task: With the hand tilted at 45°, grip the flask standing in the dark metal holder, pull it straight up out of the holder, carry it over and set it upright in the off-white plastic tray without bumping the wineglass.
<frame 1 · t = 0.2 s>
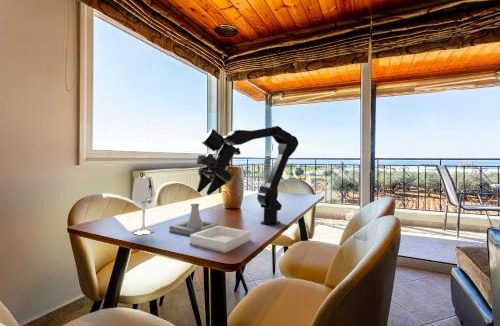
hand: (202, 193, 97), 14 cm above the table, tool tilted 35°, fingers open, 9 cm apart
tray: (220, 242, 85), on the table
holder: (194, 230, 99), on the table
wineglass: (143, 232, 96), on the table
flask: (194, 230, 99), on the table
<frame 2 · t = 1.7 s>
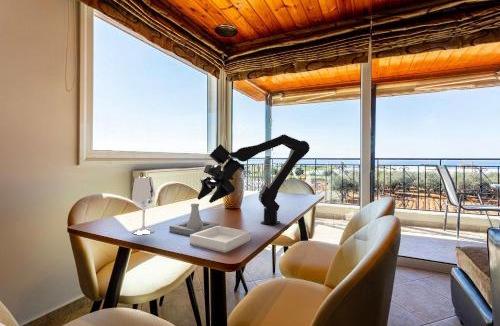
hand: (203, 200, 101), 11 cm above the table, tool tilted 45°, fingers open, 9 cm apart
nothing on the table moved.
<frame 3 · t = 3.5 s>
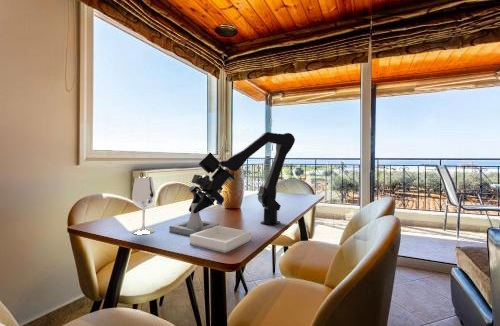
hand: (191, 211, 98), 7 cm above the table, tool tilted 45°, fingers closed on flask, 3 cm apart
flask: (194, 230, 99), on the table, touching gripper
everything else where it was.
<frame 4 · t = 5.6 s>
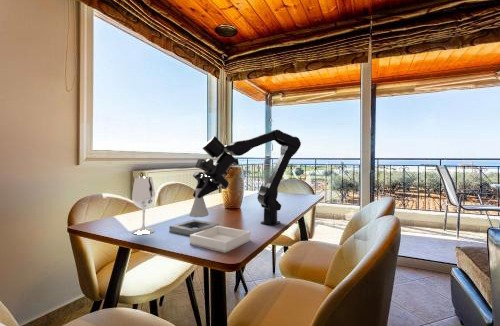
hand: (195, 196, 96), 13 cm above the table, tool tilted 45°, fingers closed on flask, 3 cm apart
flask: (199, 216, 97), point 6 cm above the table, touching gripper
everything else where it was.
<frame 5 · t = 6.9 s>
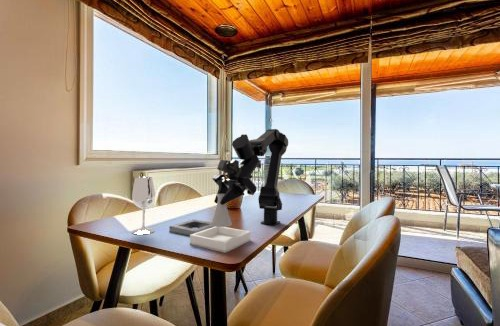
hand: (218, 203, 84), 13 cm above the table, tool tilted 45°, fingers closed on flask, 3 cm apart
flask: (221, 225, 85), point 5 cm above the table, touching gripper
everything else where it was.
when the fingers open (9 cm above the table, at t = 7.9 s): flask drops 1 cm, resting on tray.
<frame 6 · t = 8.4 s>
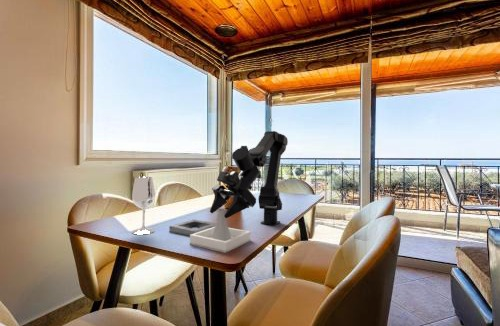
hand: (217, 214, 84), 9 cm above the table, tool tilted 45°, fingers open, 8 cm apart
flask: (221, 240, 85), resting on tray
everything else where it was.
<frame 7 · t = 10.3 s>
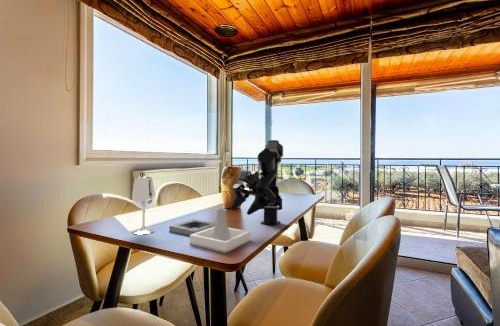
hand: (239, 211, 90), 9 cm above the table, tool tilted 45°, fingers open, 9 cm apart
nothing on the table moved.
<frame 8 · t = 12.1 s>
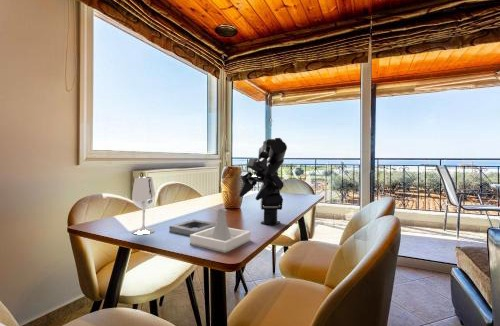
hand: (247, 197, 92), 14 cm above the table, tool tilted 45°, fingers open, 9 cm apart
nothing on the table moved.
at the end: flask inside the target area on the tray (0.2 cm from its centre), point 0.4 cm above the tray's base; flask tilted 0°; wineglass moved 0.2 cm from its start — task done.
